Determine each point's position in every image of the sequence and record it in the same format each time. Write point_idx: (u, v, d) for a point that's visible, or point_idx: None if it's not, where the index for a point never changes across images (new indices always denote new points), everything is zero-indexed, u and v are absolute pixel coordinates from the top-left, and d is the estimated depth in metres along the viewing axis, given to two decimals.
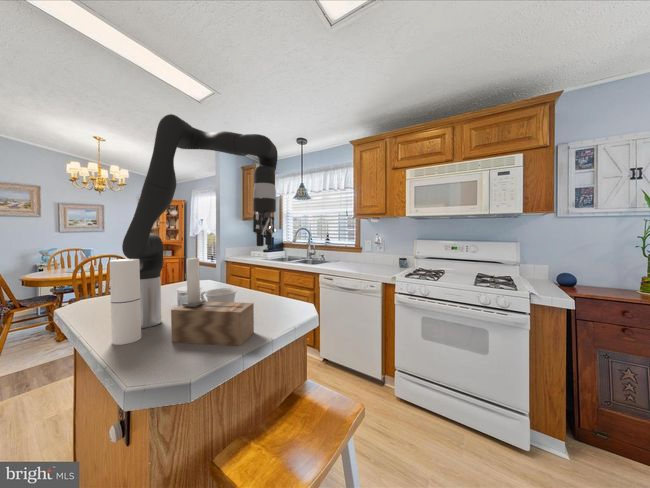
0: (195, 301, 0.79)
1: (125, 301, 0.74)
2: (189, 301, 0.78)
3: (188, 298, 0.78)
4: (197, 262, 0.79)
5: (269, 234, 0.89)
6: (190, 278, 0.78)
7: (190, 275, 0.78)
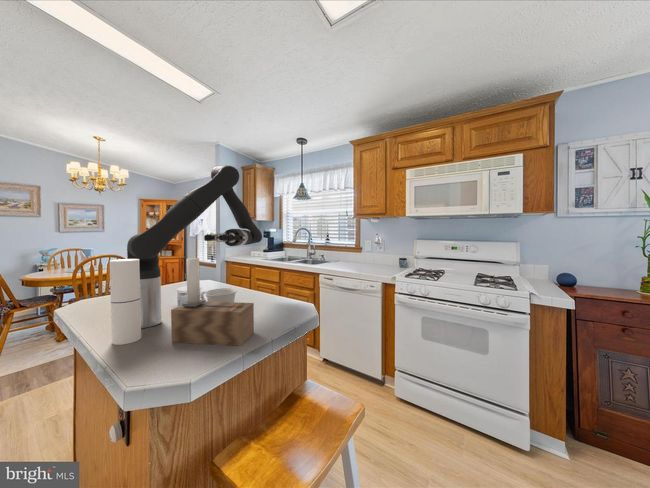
0: (195, 301, 0.79)
1: (125, 301, 0.74)
2: (189, 301, 0.78)
3: (188, 298, 0.78)
4: (197, 262, 0.79)
5: (211, 238, 0.97)
6: (190, 278, 0.78)
7: (190, 275, 0.78)
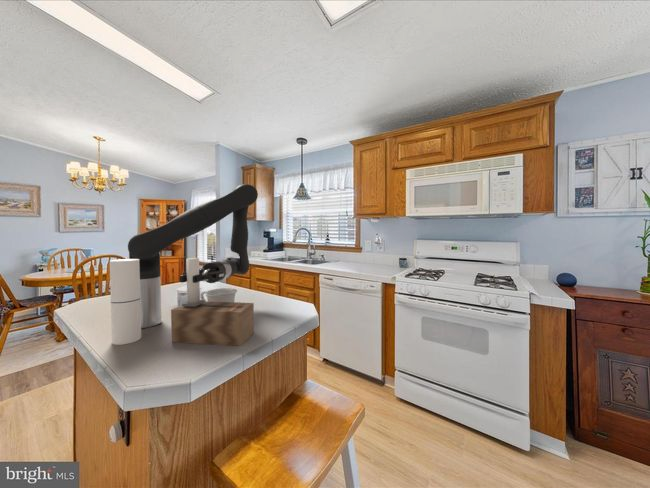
0: (195, 301, 0.79)
1: (125, 301, 0.74)
2: (189, 301, 0.78)
3: (188, 298, 0.78)
4: (197, 262, 0.79)
5: None
6: (190, 278, 0.78)
7: (190, 275, 0.78)
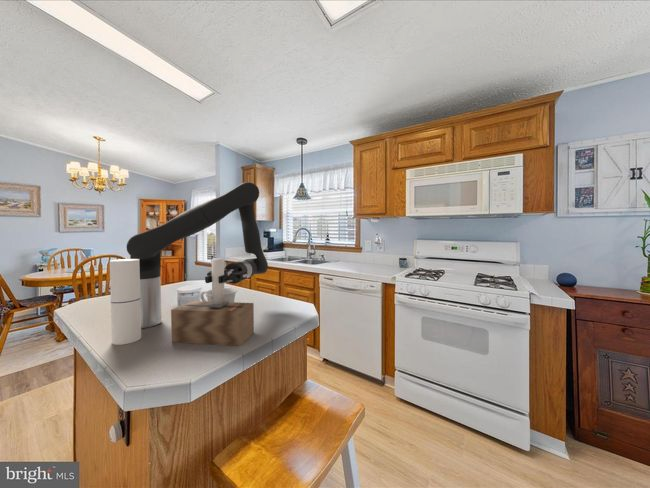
0: (220, 302, 0.78)
1: (125, 301, 0.74)
2: (214, 302, 0.77)
3: (213, 299, 0.78)
4: (222, 262, 0.78)
5: None
6: (216, 279, 0.77)
7: (215, 276, 0.77)
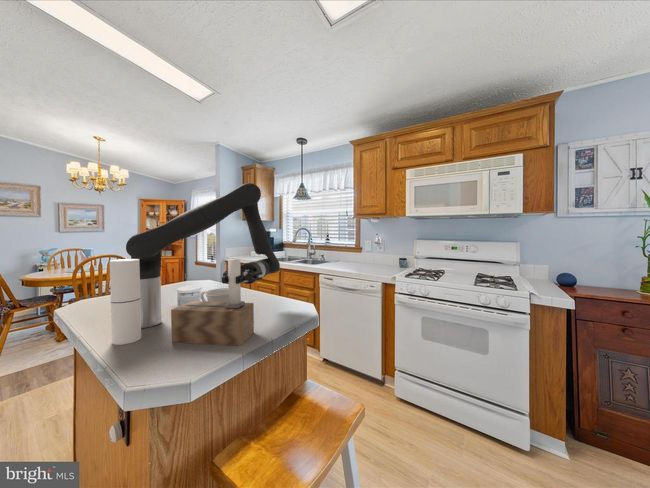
0: (237, 302, 0.77)
1: (125, 301, 0.74)
2: (231, 302, 0.77)
3: (230, 299, 0.77)
4: (239, 263, 0.78)
5: None
6: (232, 279, 0.77)
7: (232, 276, 0.77)
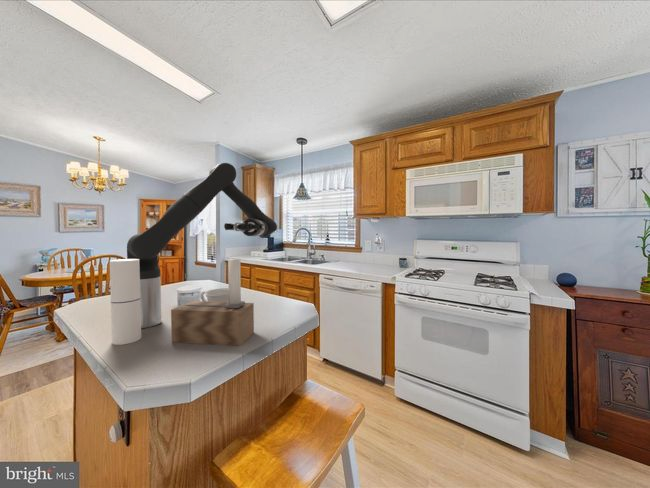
0: (237, 302, 0.77)
1: (125, 301, 0.74)
2: (231, 302, 0.77)
3: (230, 299, 0.77)
4: (239, 263, 0.78)
5: (231, 227, 0.97)
6: (232, 279, 0.77)
7: (232, 276, 0.77)
